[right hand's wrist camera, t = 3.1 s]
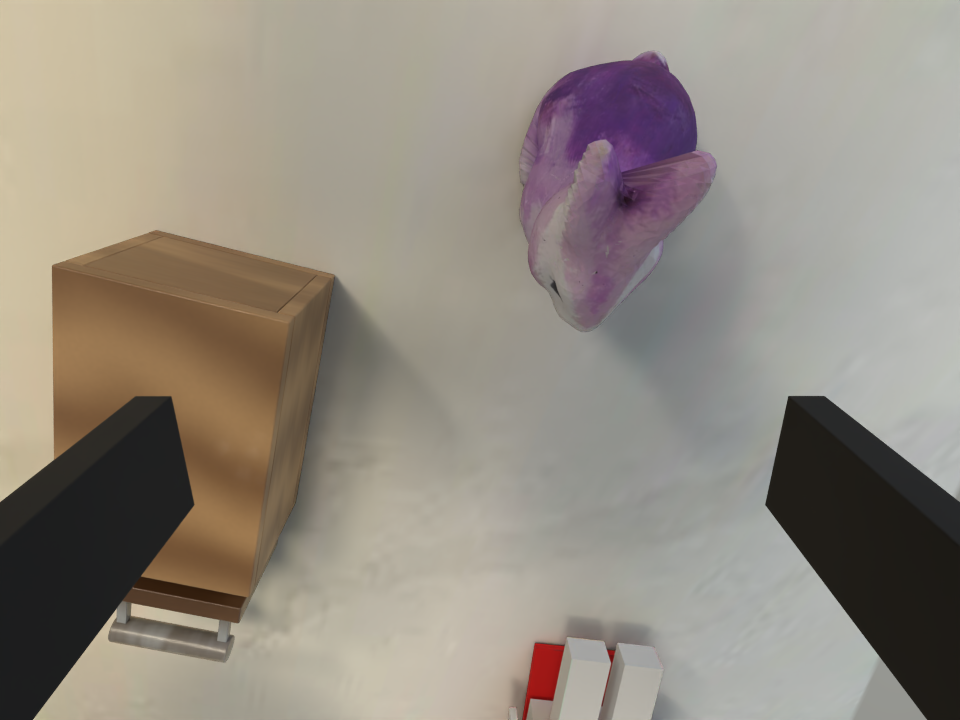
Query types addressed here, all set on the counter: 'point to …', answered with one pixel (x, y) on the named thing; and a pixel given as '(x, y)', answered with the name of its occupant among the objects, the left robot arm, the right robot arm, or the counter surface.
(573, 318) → the figurine
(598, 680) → the toy
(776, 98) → the counter surface
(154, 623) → the drawer
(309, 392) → the cabinet
